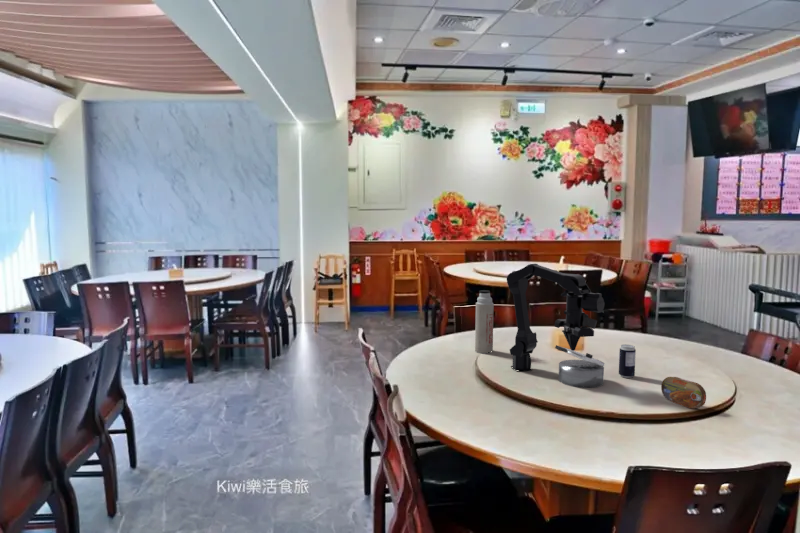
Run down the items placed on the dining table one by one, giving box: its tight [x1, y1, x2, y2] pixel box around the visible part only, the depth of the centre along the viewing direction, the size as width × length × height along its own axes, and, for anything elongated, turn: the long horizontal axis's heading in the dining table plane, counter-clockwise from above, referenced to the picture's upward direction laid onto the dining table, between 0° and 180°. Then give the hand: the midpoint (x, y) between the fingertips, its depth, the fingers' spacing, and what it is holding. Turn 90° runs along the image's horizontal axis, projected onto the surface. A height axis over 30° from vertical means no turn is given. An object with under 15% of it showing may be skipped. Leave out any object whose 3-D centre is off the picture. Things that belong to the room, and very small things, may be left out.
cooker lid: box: [554, 344, 605, 367], centre depth 202 cm, size 19×16×2 cm
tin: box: [660, 376, 707, 410], centre depth 179 cm, size 15×3×8 cm, turn 25°
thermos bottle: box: [474, 289, 494, 354], centre depth 246 cm, size 8×8×28 cm
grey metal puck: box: [558, 359, 605, 389], centre depth 203 cm, size 16×16×6 cm
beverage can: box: [618, 344, 637, 379], centre depth 209 cm, size 6×6×12 cm
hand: (572, 350), depth 202 cm, fingers closed
